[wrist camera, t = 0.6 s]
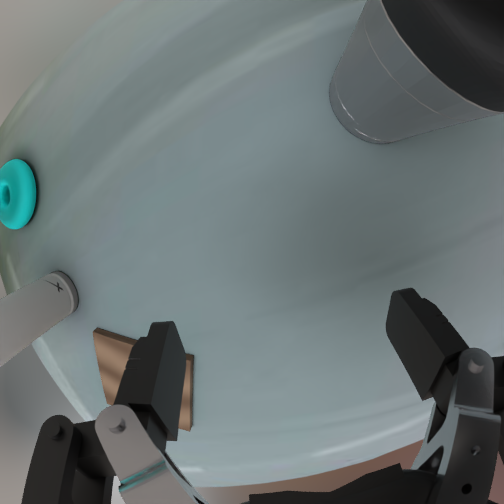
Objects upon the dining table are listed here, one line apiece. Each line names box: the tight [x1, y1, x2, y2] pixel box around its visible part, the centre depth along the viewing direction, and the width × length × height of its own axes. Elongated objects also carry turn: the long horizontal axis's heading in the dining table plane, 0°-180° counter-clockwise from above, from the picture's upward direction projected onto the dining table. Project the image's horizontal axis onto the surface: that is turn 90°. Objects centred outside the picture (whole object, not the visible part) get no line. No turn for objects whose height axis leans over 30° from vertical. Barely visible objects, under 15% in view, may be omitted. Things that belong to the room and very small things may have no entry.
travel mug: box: [0, 271, 78, 367], centre depth 24 cm, size 6×7×20 cm
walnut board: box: [93, 328, 194, 431], centre depth 35 cm, size 14×14×1 cm
